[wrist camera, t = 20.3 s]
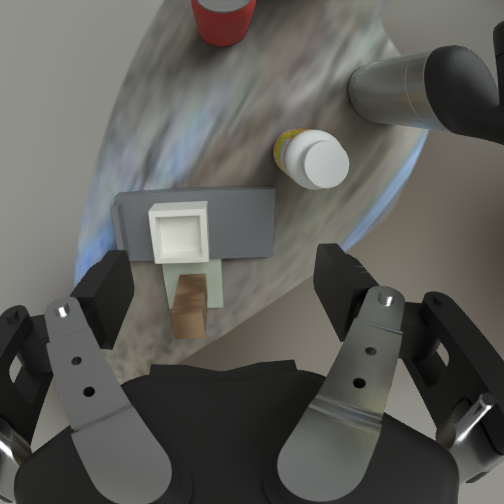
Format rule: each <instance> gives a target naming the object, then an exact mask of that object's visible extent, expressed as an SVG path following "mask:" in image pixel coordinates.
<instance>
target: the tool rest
mask: <svg viewBox="0 0 504 504" xmlns="http://www.w3.org/2000/svg"><path fill="white" fill-rule="evenodd" d="M162 268H163V274H164V280H165V286H166V292H167V298H168V303H169V309H172V306H173V302H174V297H175V293H176V289H177V284H178V280H179V276H180V274H206V282H207V293H208V300H207V308H223V287H222V266H221V259H209V262H196V263H162Z"/></svg>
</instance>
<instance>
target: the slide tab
mask: <svg viewBox="0 0 504 504" xmlns="http://www.w3.org/2000/svg"><path fill="white" fill-rule="evenodd" d="M148 213H149V222H150V230H151V237H152V244H153V251H154V258H155V264H162V263H196V262H209V256H210V243H209V224H208V201H193V202H173V203H156V204H154V205H153V206H152V207H151V209H150V210H149V211H148Z"/></svg>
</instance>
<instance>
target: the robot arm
mask: <svg viewBox="0 0 504 504" xmlns="http://www.w3.org/2000/svg"><path fill="white" fill-rule="evenodd" d="M493 43H494V50H495V58H496V66H497V76H498V89H499V92H498V89H497V87H496V84H495V81H494V79H493V77H492V74H491V73H490V71H489V69H488V67H487V66H486V65H485V63H484V62H483V61H482V60H481V58H480V57H479V56H478V55H476V54H475V53H474V52H473V51H471V50H469V49H468V48H465V47H462V46H457V45H453V46H445V47H440V48H434V49H429V50H424V51H420V52H415V53H410V54H406V55H402V56H398V57H394V58H390V59H386V60H383V61H379V62H375V63H372V64H368V65H365V66H362V67H360V68H358V69H357V70H356V71H355V72H354V73H353V74H352V76H351V78H350V81H349V86H348V92H349V97H350V101H351V103H352V105H353V107H354V109H355V110H356V111H357V113H358V114H359V115H361V116H362V117H363V118H364V119H366V120H368V121H370V122H374V123H381V124H391V125H400V126H409V127H416V128H423V129H430V130H436V131H443V132H449V133H454V134H458V135H464V136H469V137H475V138H480V139H484V140H488V141H492V142H495V143H499V144H502V145H504V21H502V22H500V23H499V24H498V25H497V26H496V27H495V28H494V31H493ZM313 282H314V289H315V291H316V293H317V295H318V297H319V299H320V301H321V303H322V305H323V307H324V309H325V311H326V313H327V315H328V317H329V319H330V321H331V323H332V325H333V328H334V329H335V332H336V333H337V336H338V338H339V340H340V342H343V341H344V343H343V345H342V347H341V349H340V351H339V353H338V356H337V357H336V359H335V361H334V363H333V365H332V367H331V369H330V371H329V373H328V375H327V377H325V376H322V375H320V374H317V373H313V372H310V371H304V370H297V368H296V364H295V361H294V360H284V361H273V362H260V363H256V364H252V365H248V366H244V367H240V368H236V369H232V370H228V371H214V370H209V369H203V368H198V367H193V366H188V365H158V364H151V368H150V373H149V375H144V376H141V377H137V378H134V379H132V380H129V381H127V382H125V383H123V384H122V385H119V383H118V381H117V379H116V378H115V376H114V374H113V372H112V370H111V368H110V367H109V365H108V363H107V361H106V359H105V357H104V355H103V353H102V351H101V349H110V350H112V349H113V346H114V344H115V341H116V338H117V336H118V333H119V331H120V328H121V325H122V323H123V320H124V318H125V315H126V313H127V311H128V308H129V306H130V303H131V301H132V299H133V296H134V281H133V277H132V272H131V267H130V262H129V257H128V253H127V251H126V250H109V251H108V252H107V253H106V255H105V256H104V257H103V259H102V260H101V261H100V262H98V263H96V264H95V265H93V266H92V267H91V268H89V270H88V271H87V272H86V274H85V276H84V277H83V278H82V279H81V282H79V283H78V285H77V286H76V288H75V289H74V290H73V292H72V293H71V295H70V296H69V297H62V298H58V299H56V300H54V301H53V302H51V303H50V304H49V305H48V306H47V307H46V309H45V312H44V315H38V316H33V317H30V315H29V313H28V311H27V309H26V308H25V307H24V306H21V305H18V306H13V307H11V308H9V309H7V310H6V311H5V312H4V313H2V315H1V316H0V499H1V500H3V501H4V502H8V503H12V502H15V503H16V504H457V502H458V490H459V485H461V484H463V483H464V482H465V483H473V482H475V481H477V480H479V479H480V478H481V477H483V476H484V475H486V474H487V473H489V472H490V471H491V470H493V469H494V468H495V467H496V466H498V465H499V464H500V463H502V462H503V461H504V361H503V359H502V358H501V357H500V356H499V354H498V353H497V352H496V351H495V349H494V348H493V346H492V345H491V344H490V343H489V341H488V340H487V339H486V338H485V336H484V335H483V334H482V333H481V332H480V330H479V329H478V328H477V327H476V326H475V324H474V323H473V322H472V321H471V320H470V318H469V317H468V316H467V315H466V314H465V313H464V312H463V310H462V309H461V308H460V307H459V306H458V305H457V304H456V303H455V302H454V301H453V299H451V298H450V297H449V296H447V295H445V294H443V293H440V292H434V291H433V292H428V293H426V294H425V295H424V298H423V301H422V303H412V302H405V299H404V296H403V295H402V294H401V293H400V292H399V291H397V290H395V289H393V288H390V287H387V286H379V284H378V283H377V282H376V281H375V280H374V278H373V277H372V276H371V275H370V274H369V273H368V272H367V270H366V269H365V268H364V267H363V265H362V264H361V263H360V262H359V261H358V260H357V259H356V258H354V257H352V256H351V255H349V254H345V253H344V251H343V250H342V249H341V248H340V247H339V245H338V244H336V243H330V244H319V245H318V247H317V254H316V262H315V270H314V279H313ZM440 343H442V344H443V345H444V347H445V348H446V350H447V352H448V354H449V363H448V365H447V367H446V365H445V363H444V362H443V360H442V359H441V357H440V356H439V354H438V353H437V349H438V347H439V345H440ZM15 356H17V358H18V359H19V361H20V362H21V364H22V367H21V369H20V371H19V373H18V375H17V378H16V380H15V382H14V383H13V382H12V380H11V378H10V375H9V369H10V365H11V364H12V362H13V360H14V358H15ZM398 358H401V359H402V360H403V362H404V364H405V366H406V368H407V370H408V371H409V373H410V375H411V377H412V379H413V381H414V383H415V385H416V387H417V389H418V391H419V393H420V394H421V397H422V399H423V400H424V403H425V405H426V407H427V409H428V411H429V413H430V415H431V417H432V419H433V421H434V423H435V425H436V428H437V430H436V437H435V438H436V441H435V440H433V439H431V438H429V437H427V436H425V435H424V434H422V433H420V432H418V431H416V430H414V429H413V428H411V427H409V426H407V425H405V424H404V423H402V422H400V421H399V420H397V419H395V418H393V417H392V416H390V415H388V414H387V413H385V412H384V410H385V407H386V403H387V400H388V396H389V393H390V389H391V385H392V381H393V378H394V374H395V369H396V365H397V361H398ZM53 376H54V378H55V382H56V385H57V388H58V391H59V395H60V398H61V401H62V404H63V406H64V409H65V412H66V415H67V418H68V420H69V423H70V425H69V426H68V427H66V428H65V429H64V430H62V431H61V432H60V433H59V434H57V435H56V436H55V437H54V438H52V439H51V440H50V441H48V442H47V443H45V444H44V445H43V446H42V447H40V448H39V449H38V450H37V451H35V452H34V453H32V451H31V448H30V446H31V442H32V438H33V434H34V431H35V428H36V424H37V421H38V418H39V415H40V412H41V409H42V406H43V403H44V400H45V397H46V394H47V391H48V388H49V386H50V383H51V381H52V378H53Z"/></svg>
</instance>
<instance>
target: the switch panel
mask: <svg viewBox="0 0 504 504" xmlns="http://www.w3.org/2000/svg"><path fill="white" fill-rule="evenodd" d="M275 194H276V189H275V188H274V186H228V187H198V188H178V189H162V190H148V191H135V192H124V193H119V194H117V195H116V196H115V204H114V205H113V206H112V207H111V215H112V221H113V227H114V233H115V239H116V244H117V249H118V250H126V251H127V253H128V257H129V261H155V258H154V251H153V244H152V237H151V230H150V222H149V213H148V211H149V210H150V209H151V207H152V206H153V205H154V204H156V203H173V202H193V201H208V224H209V243H210V256H209V259H225V258H254V257H273V243H274V220H275Z"/></svg>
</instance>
